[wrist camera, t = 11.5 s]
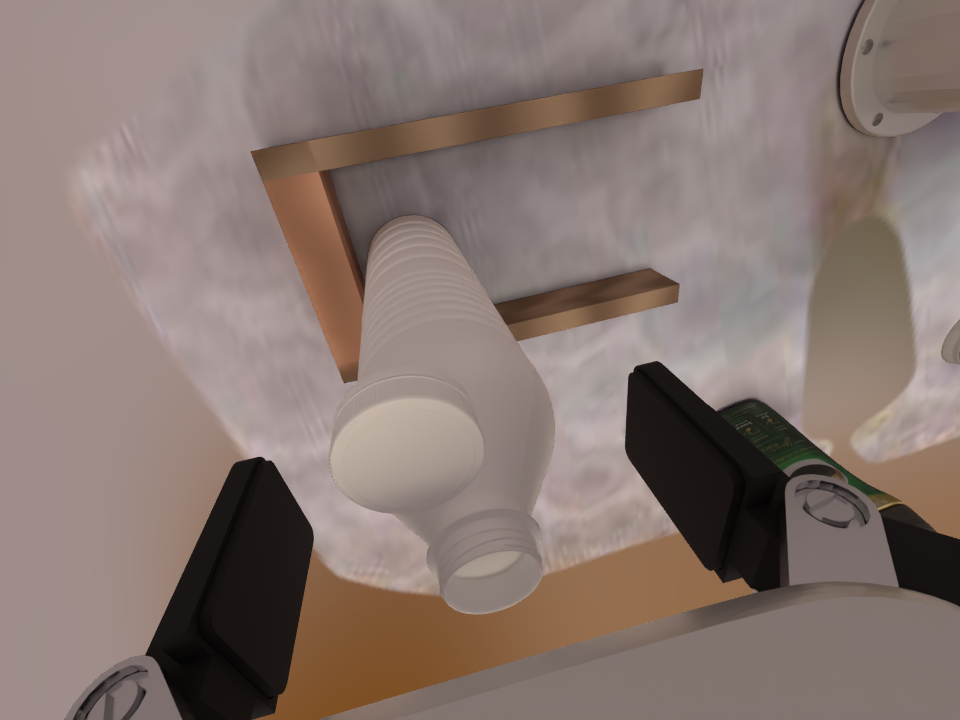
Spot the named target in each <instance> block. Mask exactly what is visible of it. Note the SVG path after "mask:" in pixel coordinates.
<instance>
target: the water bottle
mask: <svg viewBox="0 0 960 720" xmlns="http://www.w3.org/2000/svg"><path fill="white" fill-rule="evenodd" d="M554 441H555V421H554V413H553V408H552V403H551V400H550V397H549V394H548V391H547V389H546V387H545V385H544V383H543V381H542V379H541V377H540V375H539V374H538V372H537V371H536V369H535V367H534V366H533V365H532V363H531V362H530V360H529V359H528V358H527V357H526V355H525V354H524V352H523V351H522V349H521V347H520V346H519V344H518V343H517V341H516V340H515V338H514V336H513V335H512V333H511V332H510V330H509V328H508V327H507V325H506V324H505V322H504V320H503V319H502V317H501V316H500V314H499V313H498V311H497V309H496V308H495V306H494V305H493V303H492V301H491V300H490V298H489V296H488V294H487V292H486V291H485V289H484V287H483V286H482V284H481V283H480V282H479V280H478V278H477V277H476V275H475V273H474V272H473V271H472V269H471V267H470V266H469V264H468V263H467V261H466V259H465V258H464V256H463V255H462V253H461V252H460V250H459V248H458V247H457V245H456V243H455V242H454V240H453V238H452V237H451V235H450V234H449V233H448V232H447V231H446V229H445V228H444V227H442V226H441V225H440V224H438V223H437V222H435V221H433V220H431V219H429V218H426V217H423V216H417V215H410V216H401V217H398V218H395V219H393V220H391V221H389V222H387V223H386V224H385V225H384V226H383V227H382V228H380V229H379V230H378V231H377V233H376V234H375V236H374V237H373V239H372V241H371V244H370V247H369V251H368V258H367V274H366V285H365V295H364V304H363V314H362V333H361V344H360V357H359V368H358V380H357V384H356V385H354V386H353V387H352V388H351V389H350V390H349V391H348V392H347V394H346V395H345V396H344V398H343V399H342V401H341V402H340V404H339V406H338V408H337V411H336V414H335V418H334V424H333V429H332V437H331V445H330V452H329V458H330V459H329V465H330V467H329V469H331V470H330V473H332V478H333V480H334V482H335V484H336V485H337V486H338V488H339V489H340V490H341V491H342V492H343V493H344V494H345V495H346V496H347V497H348V498H349V499H350V500H352V501H353V502H355V503H357V504H359V505H361V506H363V507H365V508H368V509H370V510H374V511H378V512H383V513H391V514H393V515H394V516H395V517H396V518H398V519H399V520H400V521H401V522H402V523H403V524H405V525H406V526H407V527H408V528H409V529H410V530H412V531H413V532H414V533H415V534H416V535H417V536H419V537H420V538H421V539H422V540H423V541H424V542H426V543H427V544H428V545H429V548H428V551H427V564H428V567H429V569H430V571H431V572H432V573H433V575H435V576H436V577H437V578H438V579H439V585H440V593H441V596H442V598H443V599H444V600H445V602H446V603H447V604H448V605H449V606H450V607H451V608H453V609H454V610H456V611H459V612H463V613H468V614H485V613H491V612H496V611H499V610H502V609H505V608H508V607H510V606H512V605H514V604H516V603H518V602H520V601H521V600H523V599H524V598H526V597H527V596H528V595H529V594H531V593H532V592H533V591H534V589H535V588H536V587H537V585H538V584H539V582H540V580H541V578H542V573H543V568H542V558H541V555H540V554H539V552H538V548H539V545H540V542H541V530H540V527H539V525H538V523H537V522H536V521H535V519H534V518H532V517H531V515H532V512H533V509H534V506H535V503H536V500H537V498H538V495H539V492H540V489H541V486H542V483H543V480H544V478H545V475H546V472H547V469H548V466H549V463H550V459H551V456H552V452H553V447H554Z"/></svg>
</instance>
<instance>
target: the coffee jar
mask: <svg viewBox="0 0 960 720" xmlns="http://www.w3.org/2000/svg"><path fill="white" fill-rule="evenodd" d="M719 415H721V416H722V417H723V418H724V419H725V420H726V421H727V422H728V423H729V424H731V425H732V426H733V427H734V428H735V429H736V430H737V431H738V432H740V433H741V434H742V435H743V436H744V437H745V438H746V439H747V440H748V441H750V442H751V443H752V444H753V445H754V446H755V447H756V448H757V449H758V450H760V451H761V452H762V453H763V454H764V455H765V456H766V457H767V458H768V459H770V460H771V461H772V462H773V463H774V464H775V465H776V466H777V467H779V468H780V469H781V470H782V471H783V472H784V473H785V474H786V475H787V476H789V477H790V478H791V479H792V478H795V477H797V476H800V475H809V474H815V475H823V476H828V477H831V478H835V479H838V480H841V481H843V482H845V483H847V484H849V485H851V486H853V487H855V488H857V489H858V490H859V491H861V492H862V493H864V494H865V495H866V496H867V497H868V498H869V499H870V500H871V501H872V502H873V503H874V504H875V505H876V507H877V509H878V511H879V513H880V515H881V516H883V517H886V518H889V519H893V520H896V521H899V522H903V523H906V524H909V525H913V526H916V527H920V528H923V529H926V530H930V531H933V532H936V531H935V530H934V529H933V528H932V527H931V526H930V525H929V524H928V523H926V522H925V521H924V520H923V519H922V518H921V517H920V516H918V514H916V513H915V512H914V511H913V510H912V509H911V508H909V507H908V506H907V505H906V504H905V503H904V502H902V501H901V500H899V499H897V498H895V497H893V496H891V495H889V494H887V493H885V492H882V491H880V490H878V489H876V488H874V487H872V486H870V485H868V484H866V483H865V482H863V481H862V480H860V479H859V478H857V477H856V476H854V475H853V474H851V473H850V472H849V471H847V470H846V469H844V468H843V467H842V466H841V465H839V464H838V463H836V462H835V461H834V460H833V459H832V458H830V457H829V456H828V455H827V454H825V453H824V452H823V451H822V450H821V449H819V448H818V447H817V446H816V445H815V444H813V443H812V442H811V441H810V440H808V439H807V438H806V437H805V436H804V435H803V434H802V433H800V432H799V431H798V430H797V429H796V428H795V427H794V426H792V425H791V424H790V423H789V422H788V421H787V420H785V419H784V418H783V417H782V416H781V415H779V414H778V413H777V412H776V411H774V410H773V409H772V408H771V407H769V406H768V405H767V404H765V403H763V402H759V401H750V402H746V403H743V404H741V405H738V406H735V407H733V408H730V409H728V410H726V411H724V412H722V413H720V414H719ZM936 533H937V532H936Z"/></svg>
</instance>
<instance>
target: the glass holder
mask: <svg viewBox="0 0 960 720" xmlns="http://www.w3.org/2000/svg"><path fill="white" fill-rule="evenodd" d="M942 357H943V359H944V360H945V361H946V362H949V363H956V364H960V320H959V321H958V322H957V323H956V324H955V326H954V327H953V328H952V329H951V331H950V332H949V334H948V335H947V337H946V339H945V341H944V344H943V346H942Z"/></svg>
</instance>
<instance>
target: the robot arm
mask: <svg viewBox="0 0 960 720" xmlns="http://www.w3.org/2000/svg"><path fill="white" fill-rule="evenodd" d="M840 95H841V100H842V106H843V110H844V112H845V114H846V116H847V119H848V121H849V122H850V123H851V124H852V125H853V126H854V128H855V129H857V130H858V131H860V132H862V133H864V134H865V135H870V136H876V137H895V136H899V135H904V134H908V133H910V132H912V131H915V130H917V129H919V128H921V127H923V126H925V125H926V124H928V123H929V122H931V121H933V120H934V119H936V118H937V117H938V116H939V115H941V114H942V113H944V112H960V0H865V2H864V4H863V6H862V7H861V9H860V11H859V13H858V15H857V18H856V20H855V23H854V25H853V27H852V30H851V32H850V35H849V38H848V41H847V45H846V48H845V52H844V55H843V61H842V68H841V74H840ZM625 450H626V453H627V456H628V458H629V460H630V461H631V463H632V464H633V466H634V467H635V468H636V470H637V471H638V473H639V474H640V476H641V477H642V478H643V480H644V481H645V483H646V484H647V486H648V487H649V488H650V490H651V491H652V493H653V494H654V496H655V497H656V498H657V500H658V501H659V503H660V504H661V506H662V507H663V508H664V510H665V511H666V513H667V514H668V516H669V517H670V518H671V520H672V521H673V523H674V524H675V526H676V527H677V528H678V530H679V531H680V533H681V534H682V535H683V537H684V538H685V540H686V541H687V543H688V544H689V546H690V547H691V548H692V550H693V551H694V552H695V554H696V555H697V557H698V558H699V560H700V561H701V563H702V564H703V565H704V566H705V568H707V569H708V570H710V571H712V570H714V571H715V572H716V574H717V575H718V576H719V578H720V579H721V581H722V582H723V583H725V582H729V581H732V580H736V579H739V578H743V579H744V580H745V582H746V583H747V584H748V585H749V586H750V588H752V589H753V592H752V594H750V595H746V596H743V597H739V598H735V599H731V600H728V601H724V602H721V603H717V604H713V605H709V606H705V607H701V608H698V609H694V610H690V611H687V612H683V613H680V614H676V615H673V616H669V617H666V618H662V619H659V620H655V621H652V622H648V623H645V624H641V625H638V626H634V627H631V628H627V629H624V630H621V631H617V632H614V633H610V634H607V635H603V636H600V637H597V638H593V639H589V640H586V641H582V642H579V643H575V644H572V645H569V646H565V647H562V648H558V649H555V650H552V651H548V652H545V653H541V654H538V655H534V656H531V657H528V658H524V659H521V660H517V661H514V662H511V663H507V664H504V665H500V666H497V667H493V668H490V669H487V670H483V671H480V672H476V673H473V674H470V675H466V676H463V677H460V678H456V679H453V680H450V681H446V682H443V683H439V684H436V685H433V686H429V687H426V688H422V689H419V690H416V691H413V692H409V693H406V694H402V695H399V696H396V697H393V698H389V699H386V700H382V701H379V702H376V703H372V704H369V705H366V706H362V707H359V708H356V709H353V710H349V711H346V712H342V713H339V714H335V715H332V716H329V717H325V718H322V719H319V720H960V539H957V538H953V537H950V536H946V535H943V534H940V533H936V532H933V531H930V530H926V529H923V528H920V527H916V526H913V525H909V524H906V523H903V522H899V521H896V520H893V519H889V518H886V517H883V516H881V515H880V513H879V511H878V509H877V507H876V505H875V504H874V503H873V502H872V501H871V500H870V499H869V498H868V497H867V496H866V495H865V494H864V493H862V492H861V491H859V490H858V489H857V488H855V487H853V486H851V485H849V484H847V483H845V482H843V481H841V480H838V479H835V478H831V477H828V476H823V475H815V474H809V475H800V476H797V477H795V478H792V479H791V478H790V477H789V476H787V475H786V474H785V473H784V472H783V471H782V470H781V469H780V468H779V467H777V466H776V465H775V464H774V463H773V462H772V461H771V460H770V459H768V458H767V457H766V456H765V455H764V454H763V453H762V452H761V451H760V450H758V449H757V448H756V447H755V446H754V445H753V444H752V443H751V442H750V441H748V440H747V439H746V438H745V437H744V436H743V435H742V434H741V433H740V432H738V431H737V430H736V429H735V428H734V427H733V426H732V425H731V424H729V423H728V422H727V421H726V420H725V419H724V418H723V417H722V416H721V415H719V414H718V413H717V412H716V411H715V410H714V409H713V408H712V407H710V406H709V405H708V404H706V403H705V402H704V401H703V400H702V399H701V398H699V397H698V396H697V395H696V394H695V393H694V392H693V391H692V390H691V389H689V388H688V387H687V386H686V385H685V384H684V383H683V382H682V381H681V380H679V379H678V378H677V377H676V376H675V375H674V374H673V373H672V372H671V371H669V370H668V369H667V368H666V367H665V366H664V365H663V364H662V363H660V362H658V361H655V362H651V363H647V364H643V365H638V366H636V367H635V368H634V372H633V373H630V374H629V377H628V395H627V416H626V437H625ZM313 541H314V535H313V530H312V527H311V525H310V523H309V522H308V520H307V518H306V517H305V515H304V513H303V512H302V510H301V508H300V507H299V505H298V503H297V501H296V500H295V498H294V496H293V495H292V493H291V491H290V490H289V488H288V486H287V485H286V483H285V481H284V480H283V478H282V476H281V475H280V473H279V471H278V470H277V468H276V466H275V464H274V463H273V462H272V461H266V460H265V459H264V458H262V457H256V458H252V459H248V460H244V461H239V462H236V463H235V464H234V465H233V467H232V468H231V470H230V472H229V475H228V477H227V479H226V481H225V483H224V485H223V487H222V490H221V492H220V494H219V496H218V498H217V500H216V503H215V505H214V507H213V509H212V511H211V513H210V516H209V518H208V520H207V522H206V524H205V527H204V529H203V531H202V533H201V535H200V537H199V539H198V541H197V544H196V546H195V548H194V550H193V553H192V554H191V557H190V559H189V561H188V563H187V565H186V567H185V570H184V572H183V574H182V576H181V578H180V580H179V583H178V585H177V587H176V589H175V592H174V594H173V596H172V598H171V600H170V602H169V604H168V606H167V609H166V611H165V613H164V616H163V617H162V619H161V622H160V624H159V626H158V628H157V630H156V633H155V635H154V637H153V639H152V641H151V644H150V646H149V648H148V650H147V652H146V654H145V655H141V656H135V657H131V658H128V659H126V660H124V661H122V662H120V663H118V664H116V665H114V666H113V667H112V668H110V669H109V670H107V671H106V672H104V673H103V674H101V675H100V676H99V677H98V678H97V679H96V680H95V681H94V682H93V683H92V684H91V685H90V686H89V687H87V688H86V690H85V691H84V692H83V693H82V694H81V696H80V697H79V698H78V700H76V702H75V703H74V704H73V706H72V707H71V709H70V711H69V712H68V714H67V716H66V717H65V719H64V720H253V719H256V718H259V717H263V716H267V715H270V714H273V713H275V709H276V704H277V699H278V695H279V694H282V693H283V692H284V690H285V688H286V685H287V681H288V676H289V671H290V665H291V660H292V654H293V648H294V644H295V638H296V633H297V627H298V622H299V617H300V611H301V606H302V601H303V595H304V590H305V584H306V579H307V574H308V568H309V563H310V558H311V552H312V547H313Z"/></svg>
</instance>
